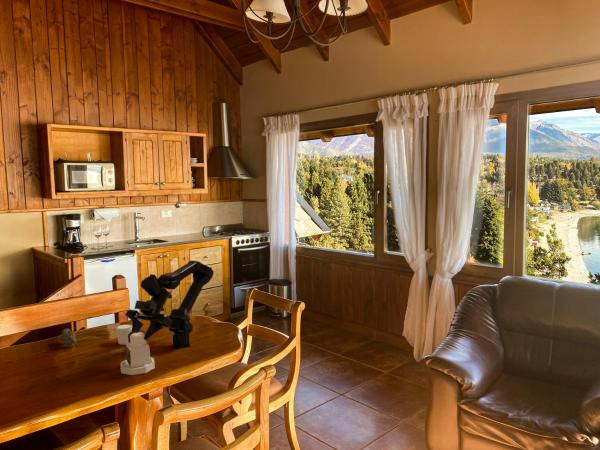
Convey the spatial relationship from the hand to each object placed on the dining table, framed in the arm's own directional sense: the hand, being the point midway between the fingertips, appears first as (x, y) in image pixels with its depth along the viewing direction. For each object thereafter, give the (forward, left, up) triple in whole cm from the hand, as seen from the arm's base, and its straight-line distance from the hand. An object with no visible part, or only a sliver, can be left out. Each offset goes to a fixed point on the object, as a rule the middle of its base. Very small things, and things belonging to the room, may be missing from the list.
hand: (138, 338), depth 172 cm
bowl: (0, 0, -11) cm, 11 cm away
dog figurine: (+26, -38, -12) cm, 48 cm away
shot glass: (+3, -32, -12) cm, 34 cm away
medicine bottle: (0, 0, -9) cm, 9 cm away
